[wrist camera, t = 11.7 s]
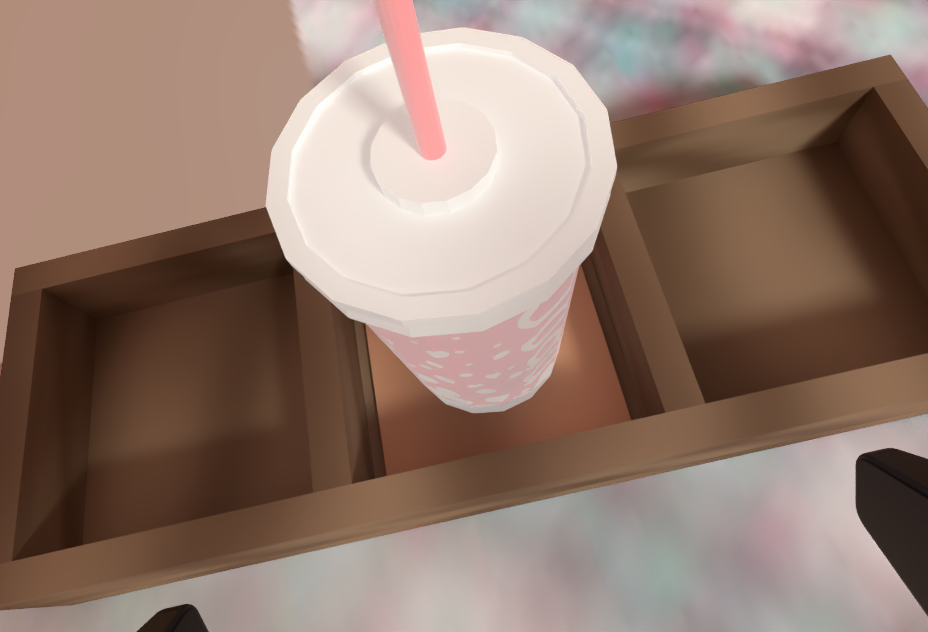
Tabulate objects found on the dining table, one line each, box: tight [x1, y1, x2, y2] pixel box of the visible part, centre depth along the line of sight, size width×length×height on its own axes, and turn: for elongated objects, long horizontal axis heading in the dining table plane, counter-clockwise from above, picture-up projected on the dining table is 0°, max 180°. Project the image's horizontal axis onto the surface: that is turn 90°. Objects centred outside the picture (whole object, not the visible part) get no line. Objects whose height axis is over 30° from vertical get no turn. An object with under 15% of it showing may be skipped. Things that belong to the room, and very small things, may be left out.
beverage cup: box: [265, 0, 617, 413], centre depth 12 cm, size 6×6×14 cm
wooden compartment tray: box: [0, 55, 928, 610], centre depth 18 cm, size 28×11×4 cm, turn 102°
